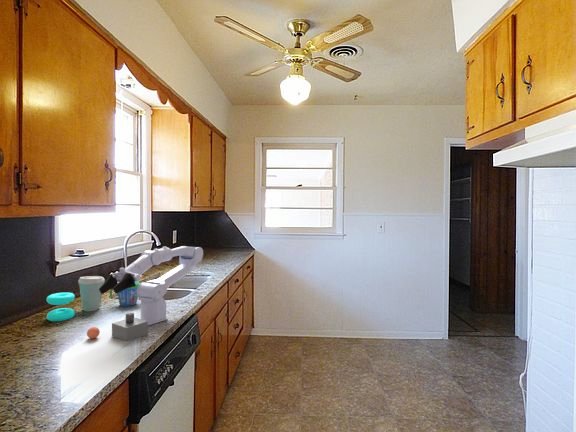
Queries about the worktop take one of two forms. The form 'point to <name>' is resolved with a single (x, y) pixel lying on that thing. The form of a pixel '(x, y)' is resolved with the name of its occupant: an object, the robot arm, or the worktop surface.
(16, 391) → the worktop surface
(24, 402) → the worktop surface
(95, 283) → the disposable coffee cup
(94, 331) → the ball
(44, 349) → the worktop surface
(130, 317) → the grey block
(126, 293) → the snack cup
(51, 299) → the donuts
